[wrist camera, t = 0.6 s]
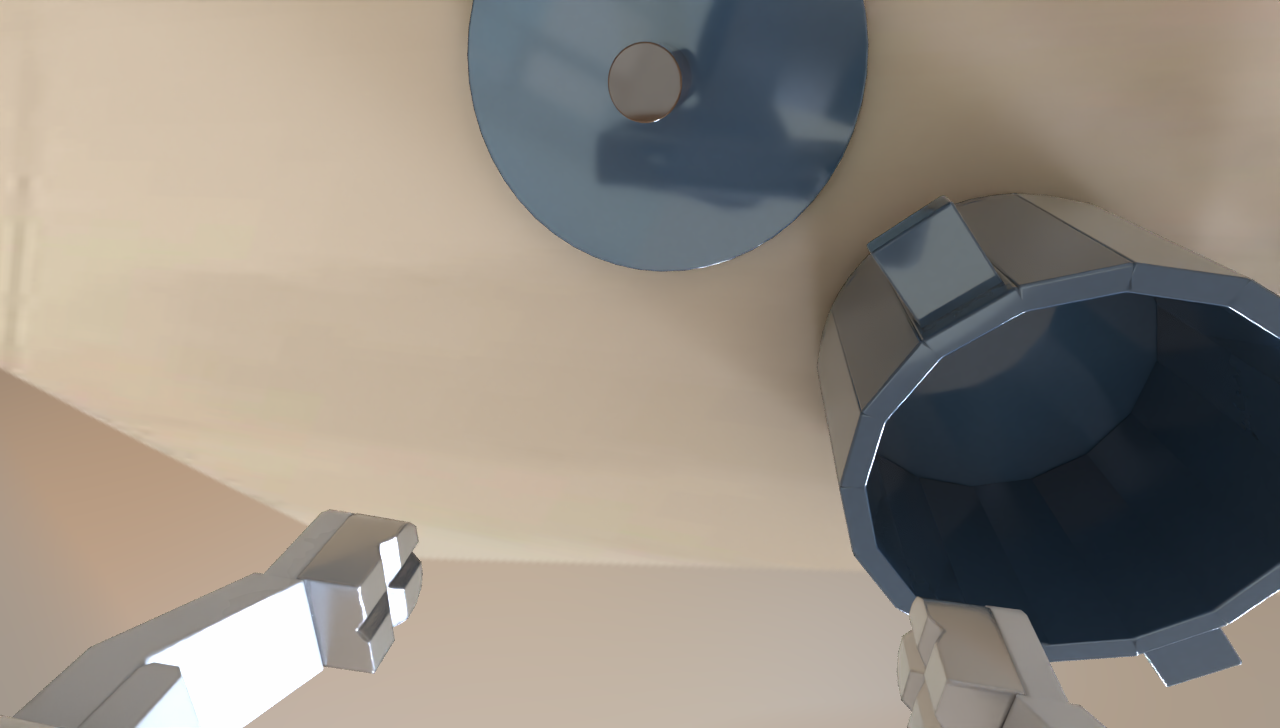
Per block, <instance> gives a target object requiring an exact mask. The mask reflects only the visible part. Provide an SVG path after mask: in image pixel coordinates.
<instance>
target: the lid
mask: <svg viewBox="0 0 1280 728" xmlns="http://www.w3.org/2000/svg"><path fill="white" fill-rule="evenodd" d="M868 45H869V44H868V31H867V18H866V11H865V6H864V1H863V0H473V5H472V11H471V17H470V23H469V33H468V53H467V56H468V72H469V84H470V90H471V95H472V101H473V107H474V111H475V114H476V118H477V121H478V124H479V128H480V131H481V134H482V137H483V139H484V141H485V144H486V146H487V148H488V151H489V153H490V155H491V158H492V160H493V161H494V163H495V165H496V167H497V168H498V170H499V172H500V174H501V175H502V177H503V179H504V181H505V182H506V183H507V185H508V186H509V187H510V189H511V190H512V192H513V193H514V194H515V196H516V197H517V198H518V200H519V201H520V202H521V203H522V204H523V205H524V206H525V207H526V208H527V210H528V211H529V212H530V213H531V214H532V215H533V216H534V217H535V218H536V219H537V220H538V221H539V222H541V223H542V224H543V225H544V226H545V227H546V228H548V229H549V230H550V231H551V232H552V233H554V234H555V235H557V236H558V237H560V238H561V239H563V240H564V241H566V242H567V243H569V244H570V245H572V246H573V247H575V248H577V249H579V250H581V251H583V252H585V253H587V254H589V255H591V256H593V257H596V258H598V259H601V260H604V261H607V262H610V263H613V264H615V265H620V266H624V267H629V268H634V269H638V270H650V271H661V272H662V271H685V270H691V269H697V268H703V267H708V266H712V265H715V264H718V263H721V262H725V261H728V260H731V259H733V258H736V257H738V256H740V255H742V254H744V253H747V252H749V251H751V250H753V249H755V248H756V247H758V246H760V245H761V244H763V243H765V242H766V241H768V240H770V239H771V238H773V237H774V236H776V235H777V234H778V233H779V232H781V231H782V230H783V229H784V228H786V227H787V226H788V225H789V224H791V223H792V222H793V221H794V220H795V219H796V218H797V217H798V216H799V215H800V214H801V213H802V212H803V211H804V210H805V209H806V208H807V207H808V206H809V205H810V204H811V203H812V202H813V201H814V199H815V198H816V197H817V195H818V194H819V193H820V191H821V190H822V189H823V188H824V186H825V185H826V184H827V182H828V181H829V179H830V178H831V176H832V174H833V173H834V171H835V169H836V167H837V166H838V164H839V162H840V161H841V159H842V157H843V155H844V153H845V150H846V148H847V146H848V143H849V141H850V139H851V137H852V134H853V132H854V129H855V126H856V122H857V119H858V116H859V112H860V109H861V106H862V101H863V96H864V90H865V84H866V78H867V66H868Z"/></svg>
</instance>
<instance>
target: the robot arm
mask: <svg viewBox="0 0 1280 728" xmlns="http://www.w3.org/2000/svg"><path fill="white" fill-rule="evenodd" d="M418 542H419V540H418V535H417V529H416V526H415V525H414V524H412V523H410V522H405V521H399V520H393V519H387V518H382V517H376V516H370V515H364V514H358V513H357V514H354V513H349V512H343V511H337V510H332V509H329V510H327V511H324V512H322V513H320V514H319V515H318V516H317V518H316V519H315V520H314V521H313V522H312V523H311V524H310V525H309V526H308V527H307V528H306V529H305V530H304V531H303V532H302V534H301V535H300V536H299V537H298V538H297V539H296V540H295V541H294V542H293V543H292V544H291V545H290V546H289V547H288V548H287V550H286V551H285V552H284V553H283V554H282V555H281V556H280V557H279V558H278V559H277V560H276V561H275V562H274V563H273V564H272V565H271V566H270V568H269V569H268V570H267V571H266V572H265V573H264V574H261V573H253V574H251V575H249V576H246V577H244V578H242V579H240V580H238V581H235V582H233V583H231V584H229V585H226V586H225V587H222V588H220V589H218V590H215V591H213V592H211V593H209V594H207V595H204V596H202V597H200V598H198V599H196V600H193V601H191V602H189V603H187V604H185V605H182V606H180V607H178V608H176V609H173V610H171V611H169V612H167V613H165V614H162V615H160V616H158V617H156V618H154V619H151V620H149V621H147V622H145V623H143V624H140V625H138V626H136V627H134V628H132V629H129V630H127V631H125V632H123V633H120V634H118V635H116V636H114V637H112V638H109V639H107V640H105V641H103V642H101V643H98V644H96V645H94V646H92V647H90V648H88V649H87V651H85V652H84V653H83V654H82V655H81V656H80V657H78V658H77V659H76V660H75V661H74V662H73V663H72V664H71V665H70V666H68V667H67V668H66V669H65V670H64V671H63V672H62V673H61V674H60V675H58V676H57V677H56V678H55V679H54V680H53V681H52V682H51V683H50V684H48V685H47V686H46V687H45V688H44V689H43V690H42V691H41V692H40V693H38V694H37V695H36V696H35V697H34V698H33V699H32V700H31V701H30V702H28V703H27V704H26V705H25V706H24V707H23V708H22V709H21V710H20V711H18V712H17V713H16V714H15V715H14V716H13V717H8V716H3V715H0V728H243V727H244V726H245V725H247V724H248V723H249V722H251V721H252V720H254V719H255V718H256V717H258V716H259V715H261V714H262V713H263V712H265V711H266V710H267V709H269V708H270V707H272V706H273V705H274V704H276V703H277V702H279V701H280V700H282V699H283V698H284V697H286V696H287V695H288V694H290V693H291V692H293V691H294V690H295V689H297V688H298V687H300V686H301V685H302V684H304V683H305V682H307V681H308V680H309V679H311V678H312V677H313V676H315V675H316V674H318V673H319V672H321V671H322V670H323V666H325V667H332V668H339V669H346V670H352V671H359V672H366V673H373V674H374V673H375V671H376V670H377V668H378V666H379V665H380V663H381V662H382V660H383V658H384V657H385V655H386V653H387V652H388V650H389V649H390V647H391V645H392V644H393V642H394V632H393V627H394V626H396V625H398V624H400V623H401V622H403V621H405V620H406V619H408V617H409V616H410V614H411V612H412V611H413V609H414V607H415V605H416V603H417V599H418V597H419V593H420V590H421V587H422V575H423V573H422V564H421V561H420V560H419V559H418V558H417V557H416V555H415V554H414V553H413V552H412V551H413V549H414V548H415V546H416V545H417V543H418ZM909 618H910V622H911V626H912V630H911V631H909V632H908V633H906V634H905V635H903V636H902V640H901V644H900V647H899V651H898V662H897V677H898V686H899V691H900V696H901V700H902V701H903V702H904V704H905V705H906V706H907V707H908V708H909V709H910V710H911V711H912V713H911V716H910V720H909V723H908V726H907V728H1106V727H1105V726H1104V725H1103V724H1102V723H1101V722H1099V721H1098V720H1097V719H1096V718H1095V717H1094V716H1092V715H1091V714H1090V713H1089V712H1088V711H1086V710H1085V709H1084V708H1083V707H1082V706H1081V705H1077V704H1071V703H1069V702H1068V700H1067V698H1066V695H1065V693H1064V691H1063V689H1062V687H1061V685H1060V683H1059V681H1058V679H1057V677H1056V675H1055V673H1054V671H1053V668H1052V666H1051V664H1050V662H1049V660H1048V658H1047V656H1046V654H1045V652H1044V650H1043V648H1042V645H1041V643H1040V641H1039V639H1038V637H1037V635H1036V633H1035V631H1034V629H1033V627H1032V625H1031V623H1030V620H1029V618H1028V616H1027V615H1026V614H1025V613H1024V612H1023V611H1022V610H1018V609H1010V608H1002V607H995V606H987V605H986V606H982V605H976V604H969V603H962V602H954V601H947V600H940V599H933V598H926V597H918V596H917V597H916V599H915V600H914V601H913V603H912V606H911V609H910V612H909Z"/></svg>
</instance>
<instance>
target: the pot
mask: <svg viewBox="0 0 1280 728" xmlns="http://www.w3.org/2000/svg"><path fill="white" fill-rule="evenodd" d="M867 249H868V250H869V252H870V254H869V255H868V256H867V257H866V258H865V259H864V260H863V261H862V262H861V264H860V265H859V266H858V267H857V268H856V269H855V271H854V272H853V273H852V274H851V275H850V277H849V278H848V280H847V281H846V283H845V284H844V286H843V287H842V289H841V290H840V292H839V293H838V295H837V297H836V299H835V301H834V303H833V305H832V308H831V310H830V312H829V314H828V317H827V320H826V323H825V326H824V329H823V333H822V338H821V344H820V350H819V358H818V362H817V371H818V376H819V382H820V387H821V393H822V398H823V403H824V409H825V414H826V420H827V425H828V430H829V436H830V441H831V447H832V452H833V458H834V463H835V468H836V474H837V479H838V485H839V490H840V495H841V499H842V504H843V509H844V514H845V519H846V524H847V528H848V533H849V538H850V543H851V548H852V552H853V554H854V556H855V558H856V559H857V560H858V561H859V563H860V564H861V565H862V566H863V568H864V569H865V570H866V571H867V573H868V574H869V575H870V576H871V577H872V579H873V580H874V581H875V582H876V584H877V585H878V586H879V587H880V589H881V590H882V591H883V592H884V594H885V595H886V596H887V597H888V599H889V600H890V601H891V602H892V604H893V605H894V606H895V607H896V608H898V609H899V610H900V611H902V612H904V613H906V614H907V615H909V612H910V609H911V606H912V603H913V601H914V600H915V599H916V597H917V596H918V597H926V598H933V599H940V600H947V601H954V602H962V603H969V604H976V605H982V606H986V605H987V606H995V607H1002V608H1010V609H1018V610H1022V611H1023V612H1024V613H1025V614H1026V615H1027V616H1028V618H1029V620H1030V623H1031V625H1032V627H1033V629H1034V631H1035V633H1036V635H1037V637H1038V639H1039V641H1040V643H1041V645H1042V648H1043V650H1044V652H1045V654H1046V656H1047V658H1048V660H1049V662H1057V661H1058V662H1059V661H1073V660H1087V659H1101V658H1116V657H1130V656H1137V654H1144V656H1145V657H1146V658H1147V660H1148V661H1149V663H1150V664H1151V666H1152V667H1153V669H1154V670H1155V672H1156V673H1157V675H1158V676H1159V677H1160V679H1161V680H1162V682H1163V683H1164V685H1166V686H1168V687H1170V686H1173V685H1176V684H1179V683H1183V682H1186V681H1189V680H1192V679H1195V678H1199V677H1201V676H1205V675H1208V674H1211V673H1215V672H1218V671H1221V670H1224V669H1227V668H1230V667H1233V666H1237V665H1240V664H1241V663H1242V660H1241V659H1240V657H1239V655H1238V654H1237V652H1236V651H1235V649H1234V647H1233V646H1232V644H1231V643H1230V641H1229V639H1228V638H1227V636H1226V635H1225V633H1224V632H1223V630H1222V628H1221V627H1223V626H1226V625H1227V623H1229V624H1230V623H1232V622H1234V621H1235V620H1236V619H1238V618H1239V617H1241V616H1242V615H1244V614H1245V613H1247V612H1248V611H1250V610H1251V609H1253V608H1254V607H1255V606H1257V605H1258V604H1260V603H1261V602H1263V601H1264V600H1266V599H1267V598H1269V597H1270V596H1271V595H1273V594H1274V593H1276V592H1277V591H1279V590H1280V297H1279V296H1278V295H1276V294H1275V293H1273V292H1272V291H1270V290H1268V289H1267V288H1265V287H1264V286H1262V285H1260V284H1259V283H1257V282H1256V281H1254V280H1253V279H1251V278H1249V277H1246V276H1244V275H1242V274H1240V273H1238V272H1236V271H1234V270H1232V269H1229V268H1227V267H1225V266H1223V265H1221V264H1219V263H1217V262H1215V261H1213V260H1210V259H1208V258H1206V257H1204V256H1202V255H1200V254H1198V253H1196V252H1193V251H1191V250H1189V249H1187V248H1185V247H1183V246H1181V245H1179V244H1176V243H1174V242H1172V241H1170V240H1168V239H1166V238H1164V237H1162V236H1159V235H1157V234H1155V233H1153V232H1151V231H1149V230H1147V229H1145V228H1142V227H1140V226H1138V225H1136V224H1134V223H1132V222H1130V221H1128V220H1125V219H1123V218H1121V217H1119V216H1117V215H1115V214H1113V213H1111V212H1109V211H1106V210H1104V209H1102V208H1100V207H1098V206H1096V205H1094V204H1091V203H1087V202H1080V201H1073V200H1069V199H1064V198H1059V197H1054V196H1049V195H1038V194H1024V193H1014V194H1001V195H992V196H986V197H981V198H975V199H970V200H967V201H963V202H960V203H956V204H954V203H953V202H952V201H951V200H949V199H948V198H947V197H946V196H944V195H942V196H940V197H939V198H937V199H935V200H934V201H932V202H931V203H929V204H928V205H926V206H925V207H923V208H922V209H920V210H919V211H917V212H915V213H914V214H912V215H911V216H909V217H908V218H906V219H905V220H903V221H902V222H900V223H899V224H897V225H895V226H894V227H892V228H891V229H889V230H888V231H886V232H885V233H883V234H882V235H880V236H879V237H877V238H875V239H874V240H872V241H871V242H869V243H868V244H867Z"/></svg>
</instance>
